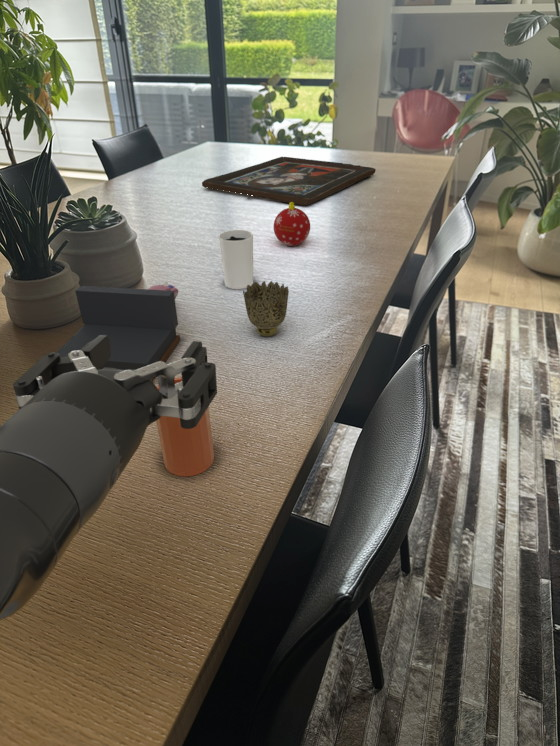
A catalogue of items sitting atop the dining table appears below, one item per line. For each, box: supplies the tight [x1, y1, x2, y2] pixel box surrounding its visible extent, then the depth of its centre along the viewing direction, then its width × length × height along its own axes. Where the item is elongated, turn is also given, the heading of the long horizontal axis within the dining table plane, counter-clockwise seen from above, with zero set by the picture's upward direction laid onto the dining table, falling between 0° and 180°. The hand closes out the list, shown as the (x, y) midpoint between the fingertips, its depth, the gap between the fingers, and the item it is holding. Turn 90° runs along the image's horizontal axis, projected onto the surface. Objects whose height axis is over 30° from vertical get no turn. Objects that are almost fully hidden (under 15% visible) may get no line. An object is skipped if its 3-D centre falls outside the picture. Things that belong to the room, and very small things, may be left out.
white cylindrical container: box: [218, 229, 254, 290], centre depth 109 cm, size 7×7×10 cm
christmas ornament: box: [273, 202, 311, 247], centre depth 128 cm, size 9×9×10 cm
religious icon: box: [201, 156, 377, 206], centre depth 179 cm, size 40×45×3 cm
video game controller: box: [148, 281, 179, 299], centre depth 99 cm, size 10×5×7 cm, turn 147°
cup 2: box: [242, 280, 290, 337], centre depth 91 cm, size 8×7×8 cm
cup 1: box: [155, 376, 215, 477], centre depth 64 cm, size 6×6×10 cm
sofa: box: [55, 285, 181, 382], centre depth 86 cm, size 16×13×9 cm
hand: (151, 348), depth 49 cm, fingers open, 8 cm apart
